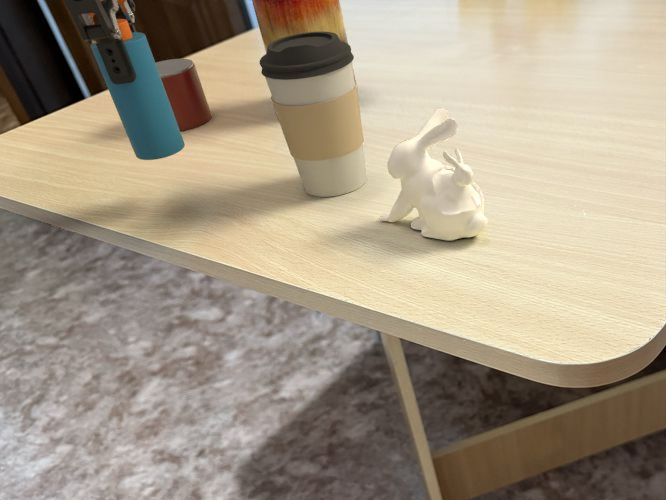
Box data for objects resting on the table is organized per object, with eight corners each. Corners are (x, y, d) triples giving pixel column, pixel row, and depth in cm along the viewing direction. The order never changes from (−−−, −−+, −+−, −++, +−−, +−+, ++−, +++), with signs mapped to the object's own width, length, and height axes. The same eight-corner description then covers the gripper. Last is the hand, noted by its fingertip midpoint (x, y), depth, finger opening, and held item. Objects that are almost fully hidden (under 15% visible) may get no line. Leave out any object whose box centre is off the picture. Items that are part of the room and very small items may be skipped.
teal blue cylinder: (131, 163, 70) (77, 33, 62) (140, 145, 74) (90, 20, 66) (181, 155, 71) (133, 25, 63) (187, 137, 75) (143, 12, 67)
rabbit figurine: (375, 220, 67) (355, 123, 61) (429, 190, 71) (415, 96, 65) (464, 256, 60) (452, 150, 54) (519, 220, 64) (513, 118, 58)
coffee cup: (300, 169, 79) (262, 30, 69) (378, 160, 79) (351, 19, 69) (289, 206, 72) (245, 56, 62) (375, 195, 72) (344, 43, 62)
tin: (152, 136, 93) (129, 80, 88) (160, 116, 98) (140, 64, 94) (209, 126, 93) (190, 71, 89) (214, 107, 99) (196, 55, 95)
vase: (366, 106, 93) (333, -68, 80) (287, 124, 91) (240, -52, 78) (349, 84, 101) (316, -77, 88) (276, 100, 99) (232, -63, 86)
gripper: (28, -137, 62) (107, 59, 73) (-31, -126, 51) (72, 103, 62) (113, -148, 63) (179, 48, 73) (73, -139, 52) (158, 90, 62)
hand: (130, 72), depth 67 cm, fingers closed on teal blue cylinder, 5 cm apart
